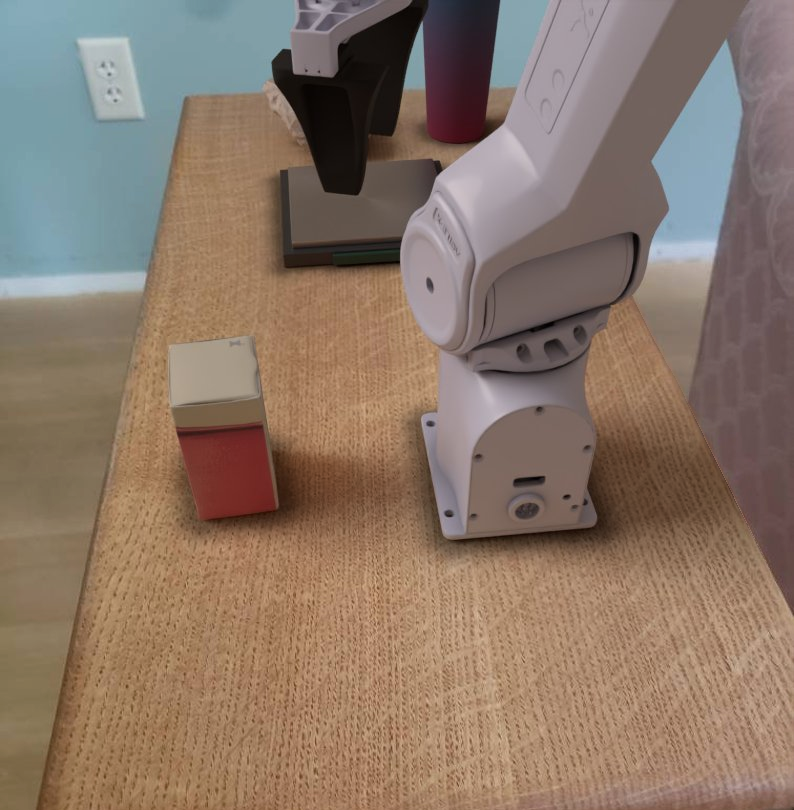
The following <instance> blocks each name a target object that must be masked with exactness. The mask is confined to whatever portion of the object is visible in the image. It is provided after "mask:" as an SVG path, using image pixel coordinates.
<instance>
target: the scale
mask: <svg viewBox="0 0 794 810" xmlns="http://www.w3.org/2000/svg"><path fill="white" fill-rule="evenodd" d="M443 170H444V169H443V167H442V163H441V160H439V159H438V160H434V159H433V158H418V159H416V158H415V159H402V160H401V159H400V160H384V161H383V160H381V161H367V163H366V172H365V177H364V182H363V186H362V189H361V192H360V193H359V195H357V196H354V195H345V194H336V193H327V192H324V190H323V187H322V185H321V182H320V179H319V176H318V173H317V170H316V167H315V165H301V166H299V165H298V166H288V167H287V169H280V170H279V189H280V217H281V218H280V219H281V240H282V241H281V243H282V259H283V267H284V268H293V267H306V266H321V265H333V266H341V265H357V264H372V263H384V262H385V263H387V262H400V251H401V243H402V239H403V236H404V233H405V231H406V227H407V224H408V222H409V220H410V217H411V216H412V214H413V213H414V212H415V211H416V210H418V209H420V208H421V207H423V206H424V205H425V204H426V203H427V201H428V199H429V198H430V195H431V192H432V189H433V185H434V182H435V179H436V177H437V176H438V175H439V174H440V173H441V172H442V171H443Z"/></svg>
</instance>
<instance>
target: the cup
mask: <svg viewBox="0 0 794 810" xmlns="http://www.w3.org/2000/svg"><path fill="white" fill-rule="evenodd" d="M500 7H501V0H429V7H428V9H427V12H426V14H425V16H424V18H423V20H422V41H423V42H422V43H423V63H424V65H423V66H424V67H423V68H424V86H425V90H424V91H425V111H426V131H427V134H428V135H429V136H430V137H431V138H432V139H435V140H437V141H440V142H444V143H450V144H463V143H469V142H473V141H475V140H478V139H480V138H481V137H482V136H483V134H484V133H485V126H486V119H487V118H486V117H487V111H488V103H489V95H490V94H489V93H490V88H491V80H492V79H491V78H492V72H493V71H492V70H493V63H494V54H495V47H496V39H497V31H498V23H499V16H500Z"/></svg>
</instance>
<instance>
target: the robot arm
mask: <svg viewBox="0 0 794 810" xmlns="http://www.w3.org/2000/svg"><path fill="white" fill-rule="evenodd" d="M293 2H294V11H295V21H294V24H293V26H292V27H291V28H290V30H289V31H288V32H289V41H290V48H282V49H281V50H280V51H279V52H278V53H277V55H275V57H274V58H273V59H272V60H271V63H270V64H271V73H272V78H273V79H274V83H275V85H276V86H277V87H278V89H279V90H280V91H281V93H282V94H283V95H284V97H285V98H286V100H287V101H288V103H289V105H290V106H291V108H292V110H293V111H294V113H295V115H296V117H297V119H298V121H299V123H300V125H301V127H302V130H303V132H304V135H305V137H306V140H307V143H308V146H309V149H310V152H309V153H310V154H311V157H312V160H313V163H314V164H313V165H314V166H315V167H316V170H317V173H318V176H319V179H320V182H321V185H322V187H323V190H324V192H327V193H336V194H345V195H354V196H357V195H359V193H360V192H361V189H362V186H363V182H364V177H365V172H366V163H367V162H368V150H369V149H368V148H369V139H370V137H369V134H371V136H372V135H373V136H380V137H381V136H382V137H393V136H394V133H395V132H396V128H397V124H398V120H399V115H400V110H401V105H402V99H403V93H404V88H405V87H404V86H405V82H406V75H407V70H408V66H409V61H410V58H411V54H412V50H413V48H414V44H415V41H416V38H417V35H418V32H419V30H420V28H421V25H422V24H423V21H422V20H423V18H424V16H425V14H426V12H427V9H428V7H429V0H293ZM749 3H750V0H549V2H548V4H547V7H546V10H545V12H544V16H543V18H542V21H541V23H540V26H539V28H538V32H537V34H536V37H535V39H534V42H533V45H532V46H531V47H532V48H531V51H530V53H529V55H528V59H527V61H526V64H525V67H524V69H523V71H522V75H521V77H520V79H519V83H518V85H517V87H516V90H515V93H514V96H513V98H512V101H511V103H510V107H509V109H508V111H507V115H506V117H505V120H504V122H503V123H502V124H501V125H500V126H499V127H497V128H496V129H495V130H493V132H492V133H490V134H489V135H488V136H487V137H485V138H484V139H482V140H481V141H480V142H478V143H477V144H475V145H474V146H473V147H472V148H471V149H469V150H468V151H466V152H465V153H464V154H462V155H461V156H460V157H459V158H457V159H456V160H455V161H453V162H452V163H451V164H450V165H448V166H447V167H446V168H445V169H443V171H442V172H441V173H440V174H439V175H438V176H437V177H436V179H435V182H434V185H433V189H432V192H431V195H430V198H429V199H428V201H427V203H426V204H425V205H424V206H423V207H421V208H420V209H418V210H416V211H415V212H414V213H413V214H412V216H411V217H410V220H409V222H408V224H407V227H406V231H405V233H404V236H403V239H402V243H401V251H400V261H399V262H400V263H399V264H400V272H401V273H400V274H401V280H402V285H403V289H404V293H405V297H406V301H407V303H408V306H409V309H410V311H411V314H412V316H413V318H414V320H415V322H416V324H417V326H418V327H419V329H420V330H421V332H422V333H423V335H424V336H425V337H426V338H427V339H428V340H429V341H430V342H431V343H433V344H434V345H435V346H436V347H438V348H439V351H438V352H439V353H438V386H437V411H435V412H433V411H432V412H426V413H424V414H422V416H421V418H420V424H421V430H422V435H423V441H424V446H425V451H426V456H427V460H428V468H429V471H430V477H431V481H432V482H431V483H432V486H433V492H434V496H435V497H434V498H435V503H436V507H437V512H438V517H439V523H440V528H441V533H442V535H443V537H444V538H445V539H447V540H452V541H453V540H465V539H477V538H489V537H499V536H500V537H501V536H510V535H511V536H512V535H521V534H533V533H545V532H556V531H557V532H558V531H568V530H579V529H589V528H590V529H591V528H592V527H595V526H596V524H597V521H598V515H597V512H596V509H595V506H594V503H593V500H592V498H591V495H590V492H589V490H588V489H589V488H588V484H589V479H590V475H591V469H592V465H593V461H594V455H595V452H596V448H597V430H596V426H595V423H594V420H593V417H592V415H591V412H590V408H589V405H588V401H587V395H586V385H585V382H586V374H587V373H586V372H587V367H588V362H589V358H590V352H591V346H592V342H593V338H594V336H596V335H597V334H598V333H599V332H601V331H604V330H606V329H607V328H608V322H609V318H610V314H611V313H610V312H611V308H612V306H615V305H618V304H622V303H623V302H625V301H627V300H628V299H630V298H631V297H632V296H633V295H635V293H636V292H637V291H638V289H639V288H640V287H641V286H640V285H641V284H642V282H643V279H644V277H645V274H646V270H647V267H648V261H649V256H650V250H651V245H652V242H653V239H654V237H655V235H656V232H657V230H658V228H659V227H660V225H661V224H662V222H663V220H664V219H665V218H666V216H667V214H668V213H669V211H670V205H669V202H668V197H667V195H666V191H665V189H664V186H663V182H662V180H661V178H660V175H659V173H658V171H657V169H656V168H655V165H654V164H653V162H652V161H653V159H654V158H655V156H656V154H657V153H658V151H659V149H660V148H661V146H662V144H664V142H665V140H666V138H667V136H668V134H669V133H670V132H671V130H672V128H673V126H674V125H675V123H676V122H677V120H678V119H679V117H680V115H681V114H682V113H683V110H684V108H685V107H686V106H687V103H688V102H689V101H690V99H691V98H692V95H693V94H694V93H695V91H696V89H697V88H698V86H699V84H700V82H701V81H702V80H703V78H704V76H705V74H706V73H707V71H708V70H709V68H710V67H711V65H712V63H713V61H714V59H715V58H716V56H717V55H718V53H719V52H720V50H721V49H722V47H723V45H724V44H725V42H726V39H727V38H728V37H729V35H730V34H731V32H732V31H733V28H734V27H735V26H736V23H737V22H738V20H739V19H740V17H741V15H742V14H743V12H744V10H745V9H746V7H747V5H748V4H749Z"/></svg>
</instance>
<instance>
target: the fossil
mask: <svg viewBox="0 0 794 810" xmlns="http://www.w3.org/2000/svg"><path fill="white" fill-rule="evenodd" d="M262 93H263V94H264V95H265V96H266V98H267V99H268V108H269V109H270V111H271V112H272V113H273V114H275V115H276V116H278V117H280V118H281V120H282V122H283V123H284V125H285V126H286V128H287V130H288V131H289V133H290V135H291V137H293V138H294V139H295V140H296V143H298V145H299V146H301V147H302V148H303V149H305V150H306V151H308V152H309V153H311V152H310V149H309V146H308V143H307V140H306V137H305V135H304V132H303V130H302V127H301V125H300V123H299V121H298V119H297V117H296V115H295V113H294V111H293V110H292V108H291V106H290V105H289V103H288V101H287V100H286V98H285V97H284V95H283V94H282V93H281V91H280V90H279V89H278V87H277V86H276V85H275V83H274V79H273V77H271V78H268V79H267V80H266V81H265V82H264V83H263V85H262ZM371 136H372V135H371V134H369V138H371Z"/></svg>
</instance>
